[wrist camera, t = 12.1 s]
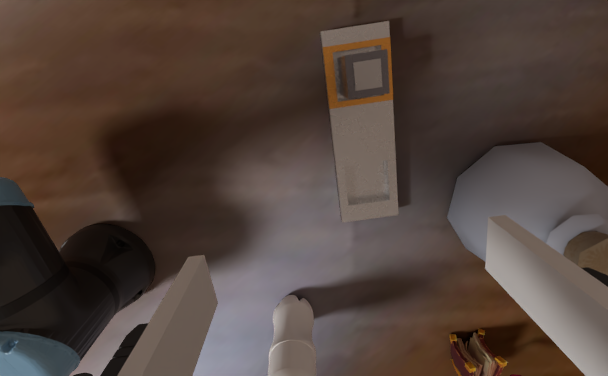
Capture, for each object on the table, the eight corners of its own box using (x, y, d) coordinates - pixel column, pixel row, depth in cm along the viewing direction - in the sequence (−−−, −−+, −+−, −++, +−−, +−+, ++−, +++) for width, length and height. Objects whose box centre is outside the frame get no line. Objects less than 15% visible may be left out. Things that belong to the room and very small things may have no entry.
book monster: (447, 328, 63) (507, 326, 64) (440, 363, 66) (497, 360, 67) (478, 378, 53) (549, 374, 54) (468, 417, 56) (534, 412, 57)
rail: (340, 216, 55) (342, 222, 52) (319, 33, 45) (320, 31, 43) (394, 208, 54) (398, 215, 52) (384, 23, 45) (389, 20, 43)
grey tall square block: (340, 94, 47) (348, 99, 40) (337, 58, 46) (344, 55, 38) (375, 89, 47) (390, 93, 39) (372, 52, 46) (387, 48, 38)
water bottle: (290, 283, 59) (283, 424, 36) (320, 303, 61) (334, 451, 37) (266, 309, 61) (245, 459, 37) (297, 328, 63) (295, 483, 39)
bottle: (544, 255, 58) (652, 337, 40) (434, 248, 57) (495, 328, 39) (586, 144, 51) (738, 183, 34) (463, 134, 51) (552, 168, 33)
